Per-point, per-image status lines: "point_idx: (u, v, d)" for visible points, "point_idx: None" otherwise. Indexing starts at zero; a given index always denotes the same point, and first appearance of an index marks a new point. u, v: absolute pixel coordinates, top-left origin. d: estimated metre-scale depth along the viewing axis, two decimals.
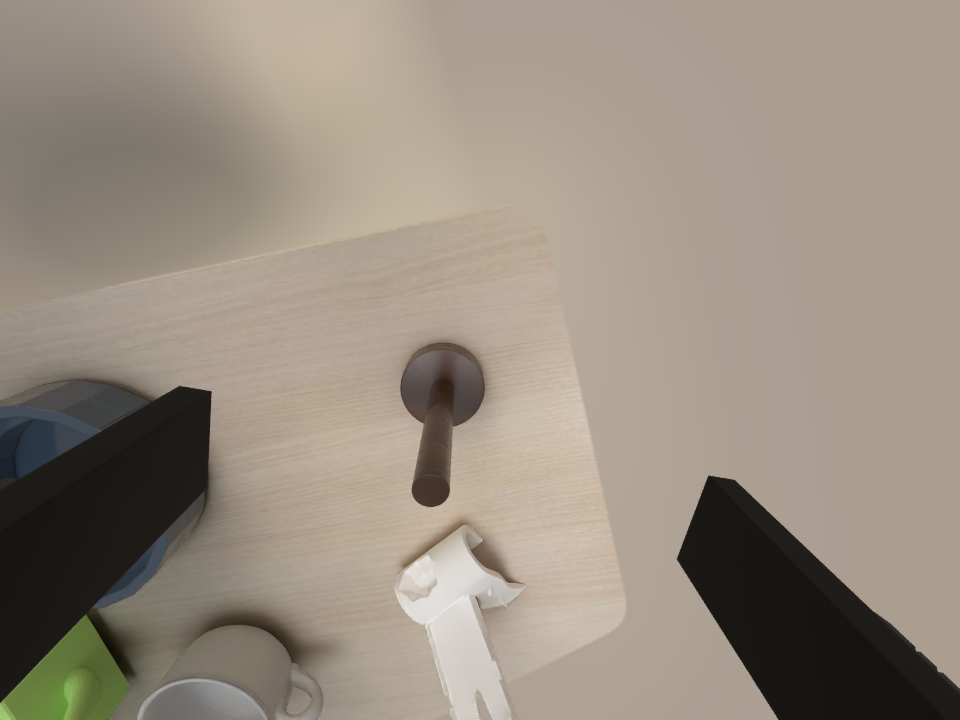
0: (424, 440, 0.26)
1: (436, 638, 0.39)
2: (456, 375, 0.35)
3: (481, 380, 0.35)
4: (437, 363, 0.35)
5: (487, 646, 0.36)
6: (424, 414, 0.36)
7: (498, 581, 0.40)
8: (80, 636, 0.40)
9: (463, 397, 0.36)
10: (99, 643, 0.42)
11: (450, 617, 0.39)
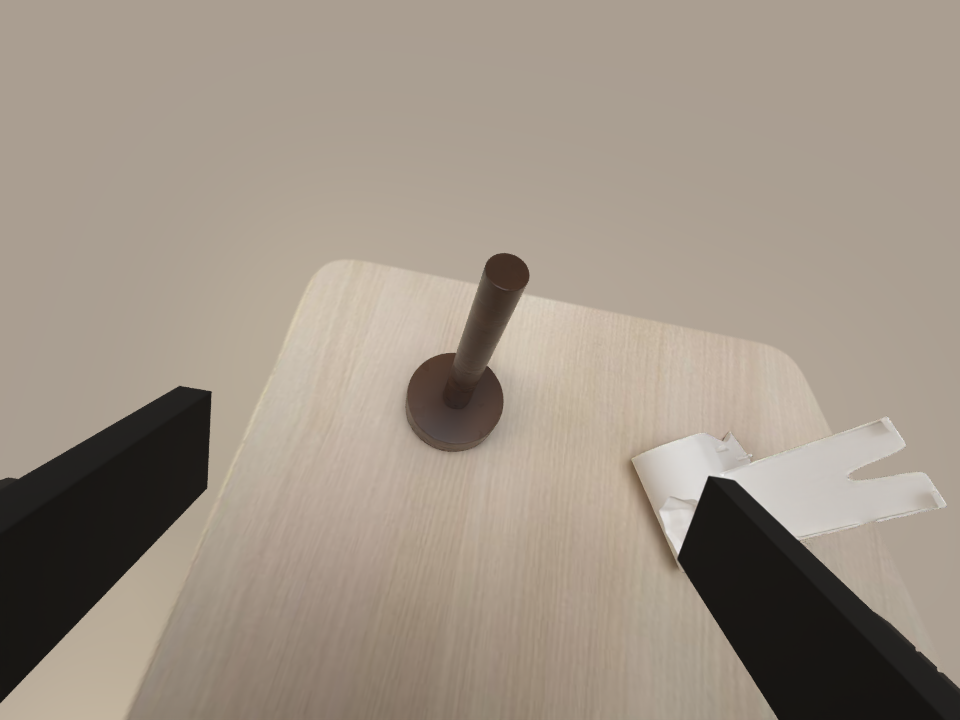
0: (469, 324, 0.22)
1: None
2: (446, 375, 0.31)
3: None
4: (425, 388, 0.31)
5: (787, 450, 0.28)
6: (476, 428, 0.30)
7: (710, 438, 0.32)
8: None
9: None
10: None
11: None
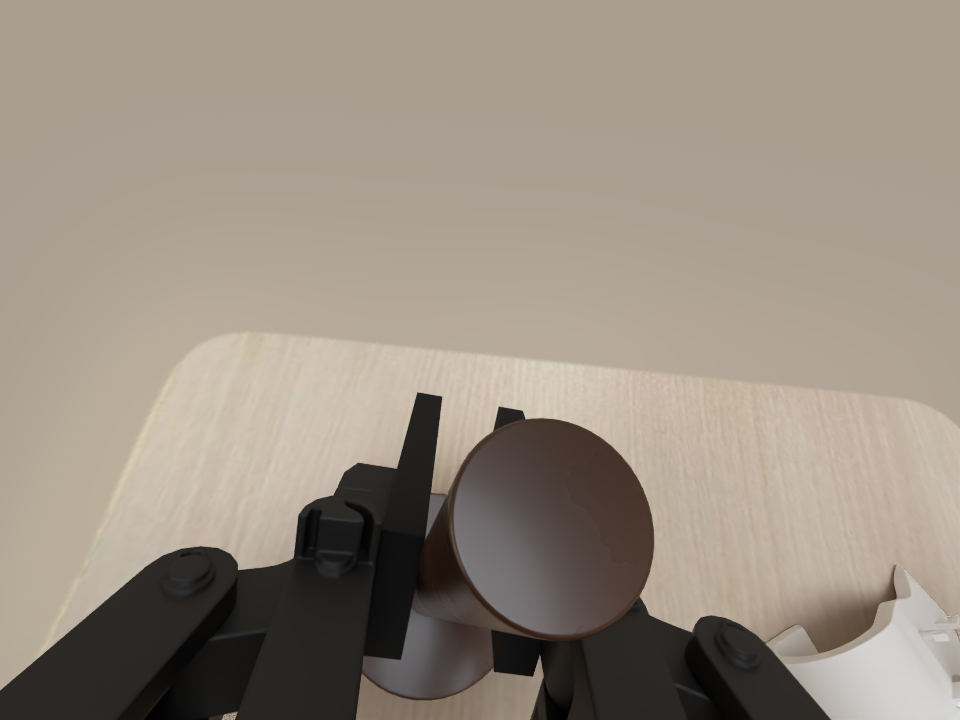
0: (424, 585, 0.07)
1: None
2: None
3: (439, 497, 0.18)
4: None
5: None
6: (474, 653, 0.15)
7: (903, 609, 0.18)
8: None
9: None
10: None
11: None
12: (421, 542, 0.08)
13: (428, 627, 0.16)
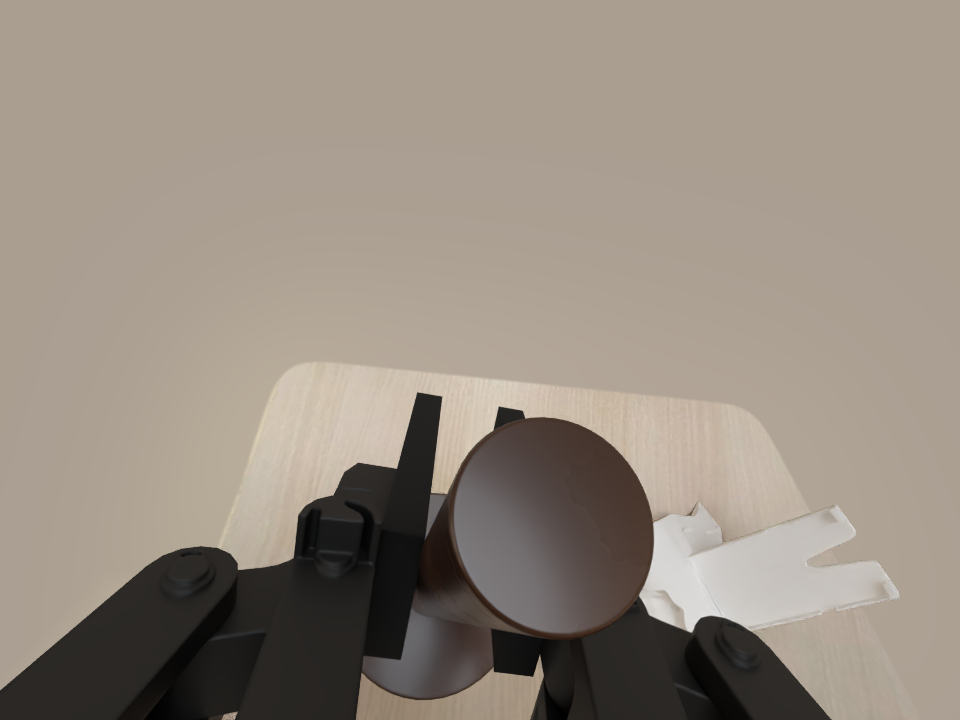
0: (424, 584, 0.07)
1: (748, 620, 0.28)
2: None
3: (439, 497, 0.18)
4: None
5: (748, 536, 0.28)
6: (474, 653, 0.15)
7: (677, 518, 0.32)
8: None
9: None
10: None
11: (719, 592, 0.30)
12: (421, 542, 0.08)
13: (428, 627, 0.16)
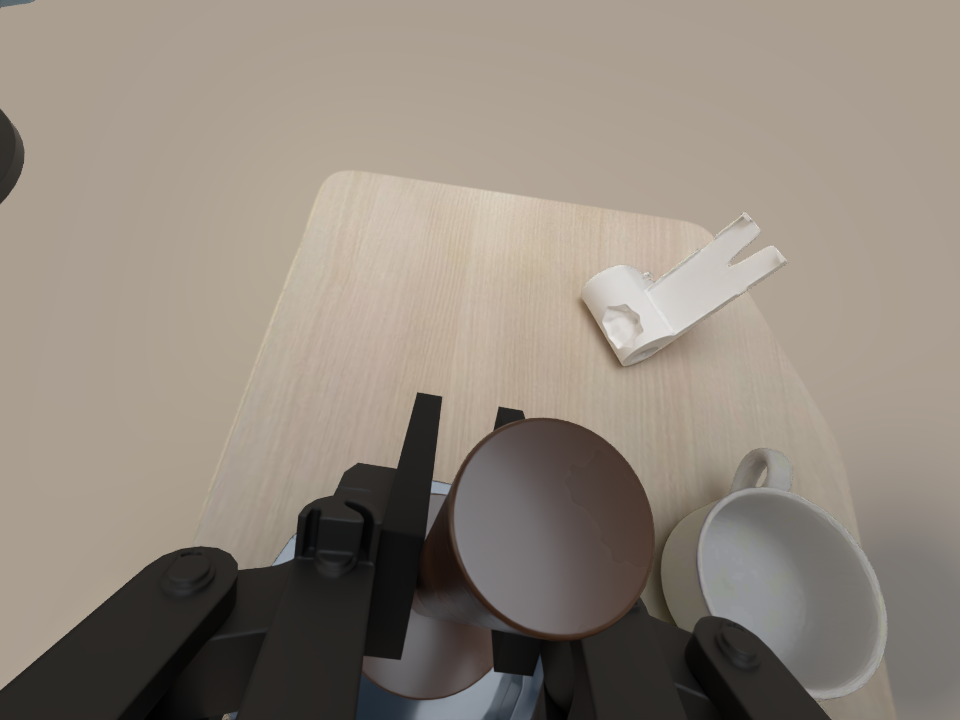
0: (425, 585, 0.07)
1: (688, 322, 0.38)
2: None
3: (439, 497, 0.18)
4: None
5: (687, 258, 0.38)
6: (474, 653, 0.15)
7: (638, 272, 0.42)
8: None
9: None
10: None
11: (668, 310, 0.39)
12: (421, 542, 0.08)
13: (428, 627, 0.15)
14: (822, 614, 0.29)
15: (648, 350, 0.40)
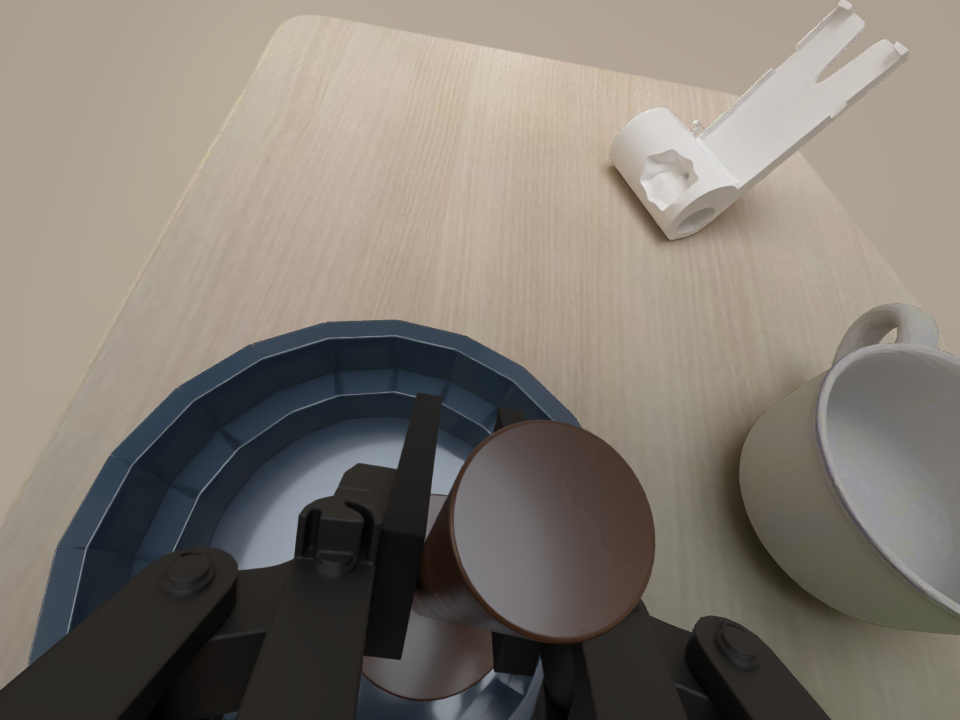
0: (424, 586, 0.07)
1: (756, 170, 0.28)
2: None
3: (439, 497, 0.18)
4: None
5: (756, 83, 0.28)
6: (474, 654, 0.15)
7: None
8: None
9: None
10: None
11: (727, 160, 0.30)
12: (421, 542, 0.08)
13: (428, 628, 0.15)
14: None
15: (700, 219, 0.31)
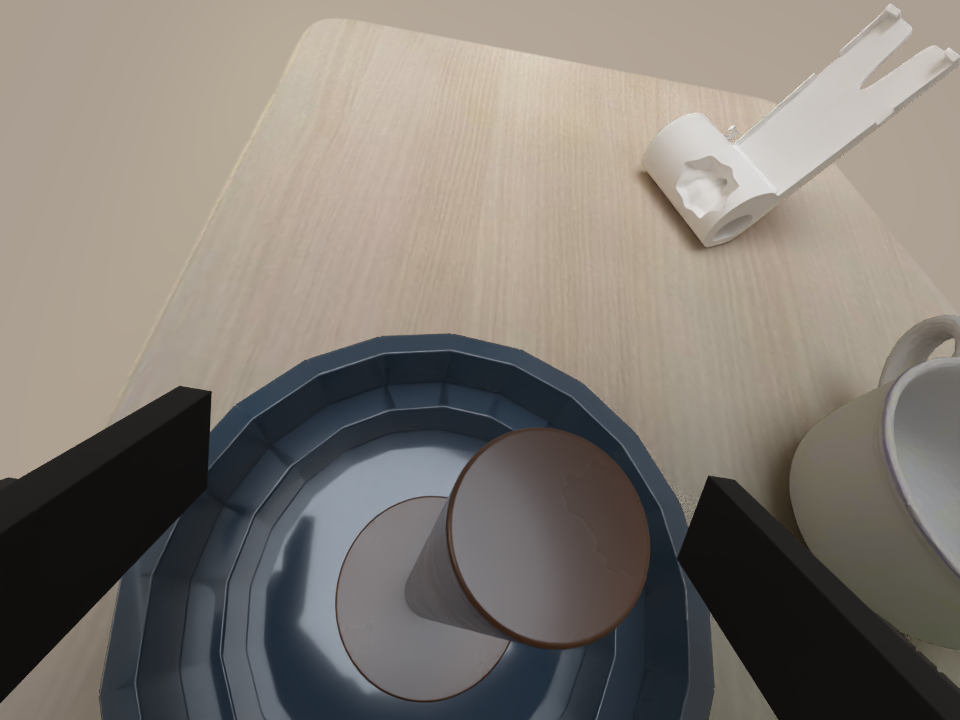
0: (424, 590, 0.07)
1: (797, 177, 0.28)
2: (411, 546, 0.17)
3: (439, 499, 0.18)
4: (370, 581, 0.16)
5: (796, 89, 0.28)
6: (474, 655, 0.15)
7: None
8: None
9: None
10: None
11: (765, 166, 0.29)
12: None
13: (428, 629, 0.16)
14: None
15: (736, 226, 0.30)
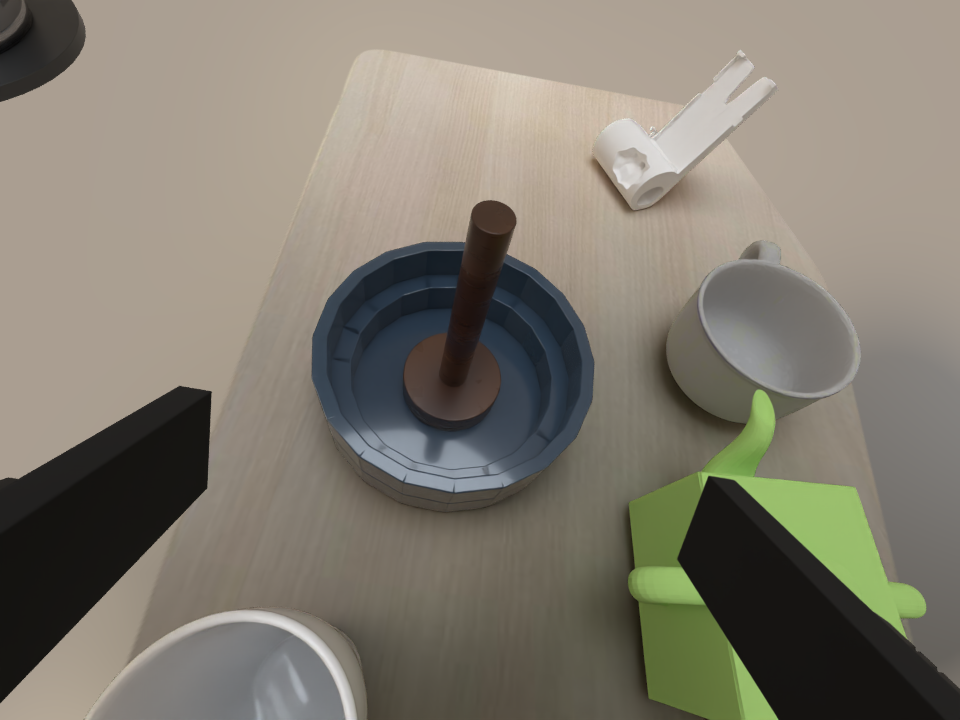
0: (460, 283, 0.21)
1: (689, 161, 0.42)
2: (441, 354, 0.31)
3: None
4: (421, 368, 0.30)
5: (689, 103, 0.42)
6: (476, 403, 0.30)
7: None
8: None
9: None
10: None
11: (671, 154, 0.43)
12: None
13: (451, 391, 0.30)
14: (807, 374, 0.34)
15: (654, 195, 0.45)
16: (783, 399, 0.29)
